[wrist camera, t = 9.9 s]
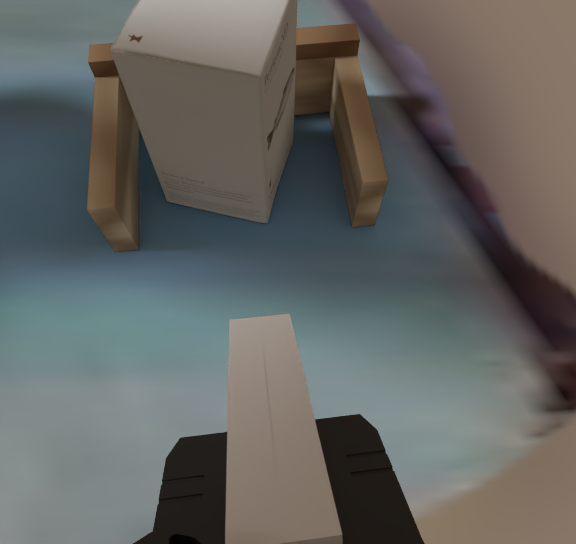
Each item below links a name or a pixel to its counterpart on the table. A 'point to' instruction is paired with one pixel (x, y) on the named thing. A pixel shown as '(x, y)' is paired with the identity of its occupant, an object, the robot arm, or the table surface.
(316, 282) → the table surface
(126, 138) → the brown wooden frame
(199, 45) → the supplement box
